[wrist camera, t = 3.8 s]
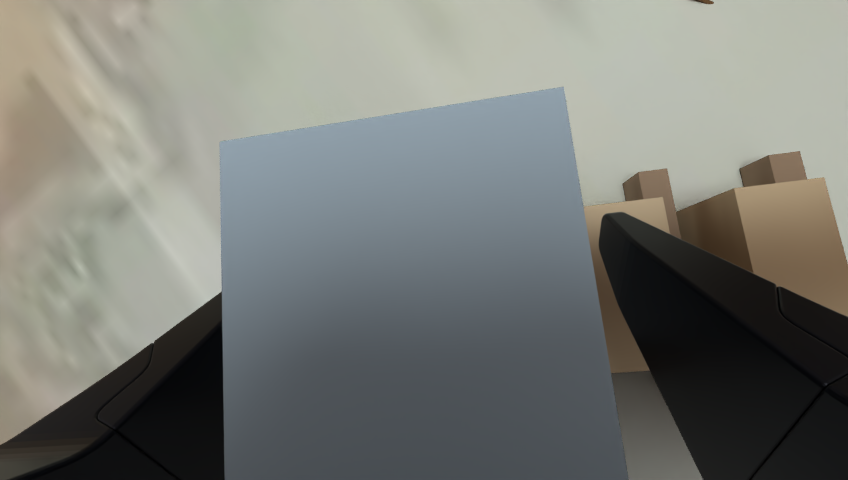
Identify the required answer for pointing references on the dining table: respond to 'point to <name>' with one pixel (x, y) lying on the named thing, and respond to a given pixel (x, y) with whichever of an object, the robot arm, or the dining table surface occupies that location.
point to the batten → (414, 301)
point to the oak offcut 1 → (616, 330)
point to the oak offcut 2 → (776, 237)
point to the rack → (752, 175)
